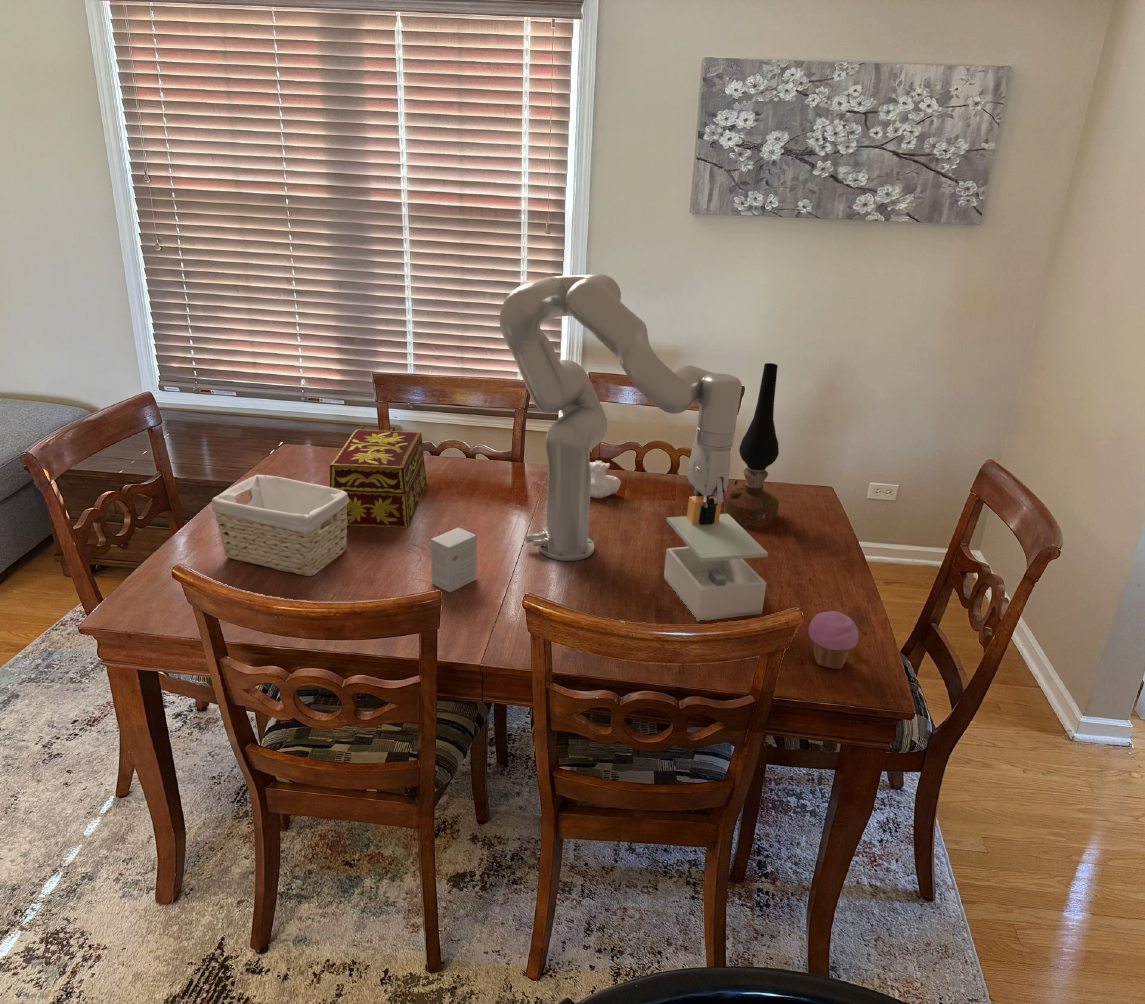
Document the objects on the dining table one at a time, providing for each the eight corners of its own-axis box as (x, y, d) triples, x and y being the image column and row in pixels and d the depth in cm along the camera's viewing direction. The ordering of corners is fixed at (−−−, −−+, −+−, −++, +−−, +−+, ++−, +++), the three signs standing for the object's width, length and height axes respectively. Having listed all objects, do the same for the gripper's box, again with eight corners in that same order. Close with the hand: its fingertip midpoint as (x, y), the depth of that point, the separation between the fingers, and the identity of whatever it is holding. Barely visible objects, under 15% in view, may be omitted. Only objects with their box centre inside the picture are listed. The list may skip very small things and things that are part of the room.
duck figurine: (573, 501, 221) (572, 480, 211) (576, 476, 224) (575, 454, 214) (619, 505, 220) (620, 484, 210) (621, 480, 223) (622, 458, 213)
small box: (459, 570, 179) (458, 526, 175) (477, 579, 176) (477, 534, 172) (430, 584, 173) (429, 538, 169) (449, 593, 170) (448, 547, 166)
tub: (761, 613, 168) (766, 583, 165) (697, 621, 164) (701, 590, 162) (723, 571, 184) (726, 542, 181) (663, 577, 180) (666, 548, 177)
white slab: (766, 560, 164) (772, 530, 161) (700, 565, 160) (705, 534, 157) (726, 520, 179) (731, 492, 176) (665, 524, 175) (669, 495, 173)
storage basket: (356, 550, 186) (351, 488, 180) (313, 583, 172) (306, 518, 166) (264, 531, 192) (257, 471, 186) (216, 561, 178) (206, 498, 172)
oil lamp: (782, 530, 213) (840, 380, 199) (753, 539, 201) (812, 380, 187) (737, 507, 220) (789, 361, 207) (707, 514, 209) (760, 360, 195)
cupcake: (855, 679, 149) (865, 631, 145) (805, 672, 150) (814, 625, 146) (849, 651, 157) (858, 605, 153) (801, 645, 158) (809, 599, 154)
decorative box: (408, 529, 197) (406, 469, 191) (329, 525, 197) (324, 466, 191) (427, 483, 222) (425, 430, 216) (356, 481, 222) (353, 427, 216)
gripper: (681, 423, 173) (671, 504, 180) (714, 452, 159) (701, 538, 166) (714, 422, 175) (703, 502, 182) (750, 450, 161) (736, 536, 168)
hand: (702, 519), depth 174 cm, fingers closed on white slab, 3 cm apart
